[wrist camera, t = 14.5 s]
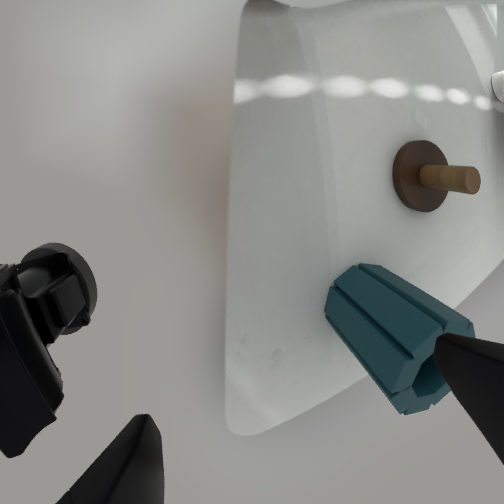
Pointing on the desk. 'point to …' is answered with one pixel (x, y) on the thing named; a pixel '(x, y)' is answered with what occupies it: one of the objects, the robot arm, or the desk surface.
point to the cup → (498, 85)
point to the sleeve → (394, 333)
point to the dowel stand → (429, 176)
